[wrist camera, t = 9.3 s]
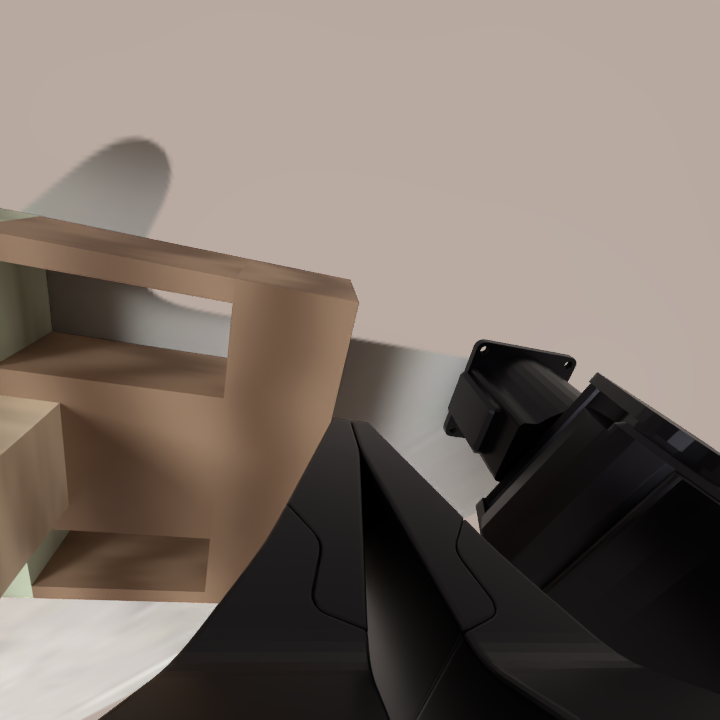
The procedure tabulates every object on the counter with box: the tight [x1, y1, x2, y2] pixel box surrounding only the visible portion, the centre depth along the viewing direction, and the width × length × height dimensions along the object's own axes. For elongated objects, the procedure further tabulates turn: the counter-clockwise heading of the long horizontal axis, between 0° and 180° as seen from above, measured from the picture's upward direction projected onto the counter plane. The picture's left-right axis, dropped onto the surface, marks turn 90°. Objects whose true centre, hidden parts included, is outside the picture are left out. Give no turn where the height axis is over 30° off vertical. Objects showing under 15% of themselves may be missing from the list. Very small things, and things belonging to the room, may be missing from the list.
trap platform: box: [0, 208, 359, 603], centre depth 19 cm, size 20×20×6 cm
